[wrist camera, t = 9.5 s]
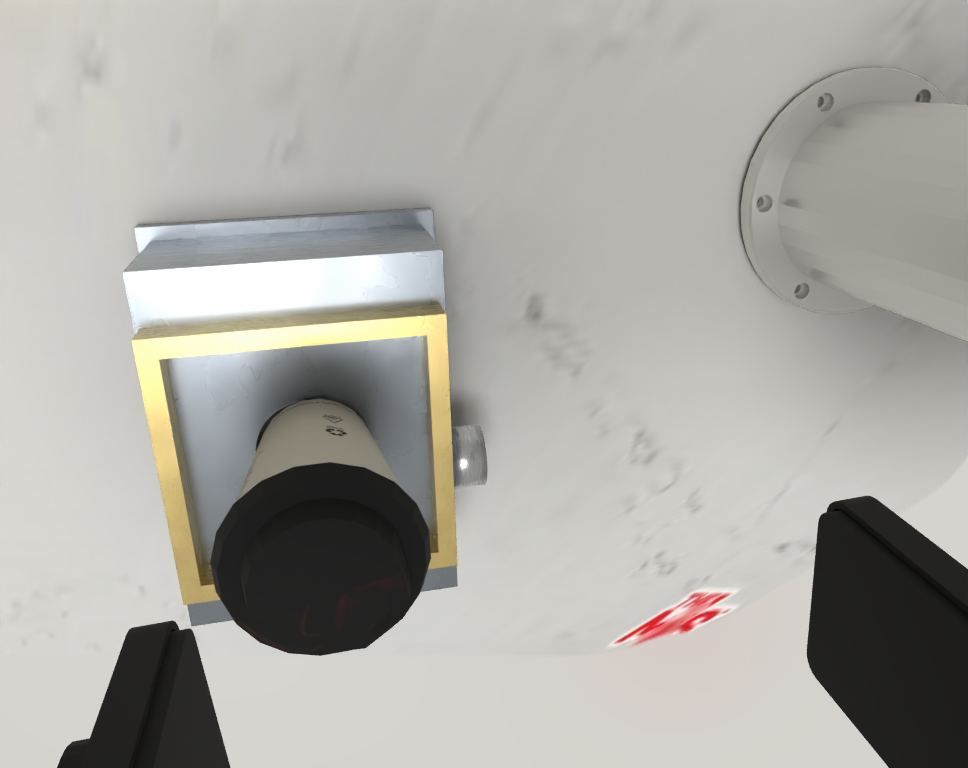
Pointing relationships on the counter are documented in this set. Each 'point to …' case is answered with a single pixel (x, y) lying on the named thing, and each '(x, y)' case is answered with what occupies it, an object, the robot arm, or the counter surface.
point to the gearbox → (294, 363)
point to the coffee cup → (320, 537)
